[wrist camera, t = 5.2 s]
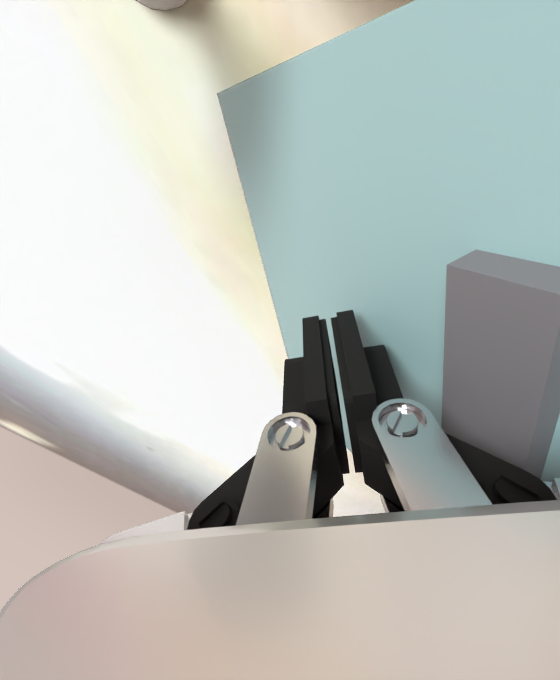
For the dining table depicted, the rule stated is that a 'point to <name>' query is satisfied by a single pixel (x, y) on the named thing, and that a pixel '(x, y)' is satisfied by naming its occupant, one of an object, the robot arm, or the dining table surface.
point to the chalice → (162, 4)
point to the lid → (422, 208)
